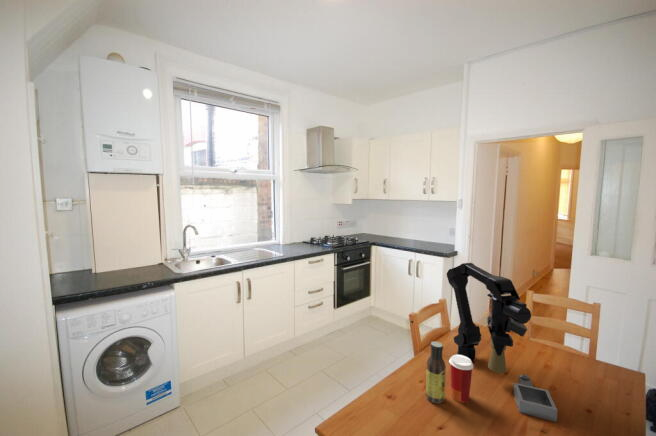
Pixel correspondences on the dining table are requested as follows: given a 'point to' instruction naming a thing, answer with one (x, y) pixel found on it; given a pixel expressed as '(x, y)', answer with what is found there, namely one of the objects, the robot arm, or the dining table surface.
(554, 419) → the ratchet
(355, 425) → the dining table surface
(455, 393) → the paper cup
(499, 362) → the cork
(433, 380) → the sauce bottle
